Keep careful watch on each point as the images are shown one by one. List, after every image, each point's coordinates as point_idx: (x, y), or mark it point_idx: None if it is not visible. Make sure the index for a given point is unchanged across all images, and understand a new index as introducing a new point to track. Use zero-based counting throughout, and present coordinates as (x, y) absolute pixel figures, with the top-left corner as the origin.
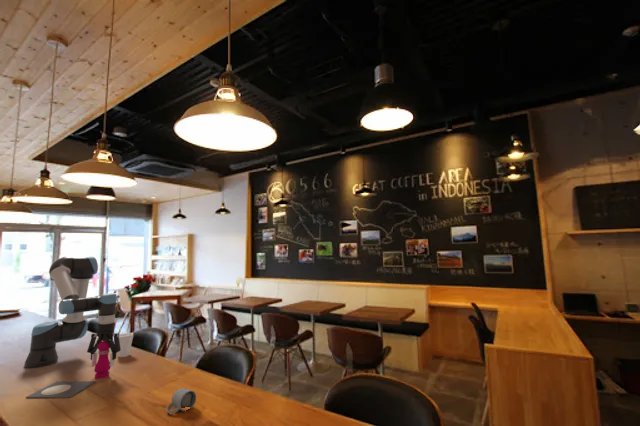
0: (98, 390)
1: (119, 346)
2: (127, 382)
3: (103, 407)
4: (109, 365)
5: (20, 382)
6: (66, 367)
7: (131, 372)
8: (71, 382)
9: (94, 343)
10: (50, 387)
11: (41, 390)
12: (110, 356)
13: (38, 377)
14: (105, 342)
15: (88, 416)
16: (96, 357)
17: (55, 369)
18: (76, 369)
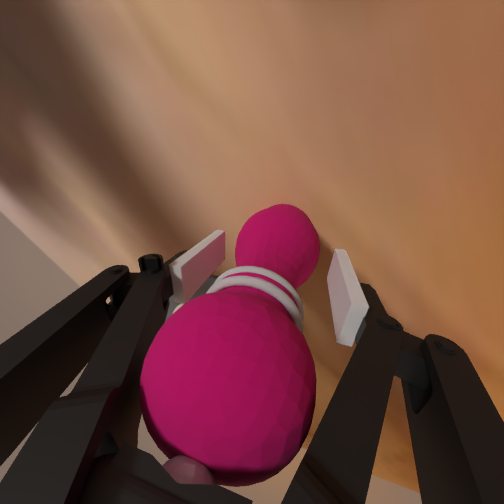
0: (336, 359)
1: (484, 418)
2: (442, 327)
3: (398, 451)
4: (317, 259)
5: (53, 237)
6: (30, 72)
7: (442, 192)
8: (204, 285)
9: (64, 329)
10: (174, 311)
11: (166, 320)
12: (334, 325)
13: (55, 201)
14: (245, 485)
15: (374, 467)
16: (202, 252)
17: (17, 105)
18: (97, 109)
